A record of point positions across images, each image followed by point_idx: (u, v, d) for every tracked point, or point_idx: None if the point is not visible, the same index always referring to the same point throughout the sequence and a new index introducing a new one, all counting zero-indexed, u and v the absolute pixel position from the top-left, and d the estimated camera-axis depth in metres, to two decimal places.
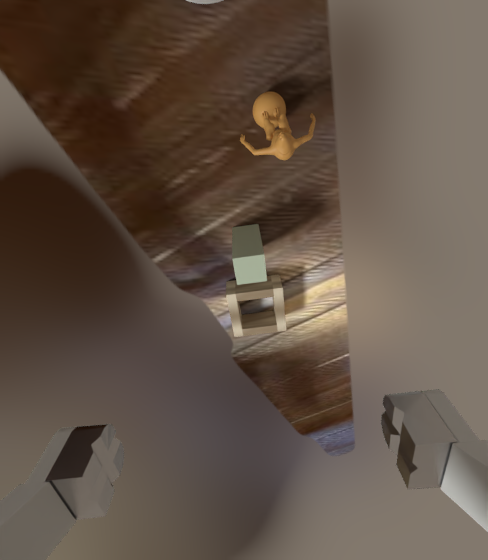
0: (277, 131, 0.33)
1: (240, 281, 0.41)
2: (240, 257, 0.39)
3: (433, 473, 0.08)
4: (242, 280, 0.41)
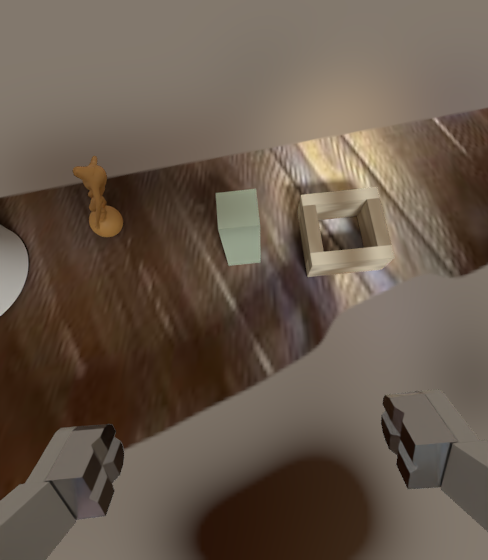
0: None
1: (254, 220, 0.30)
2: (217, 219, 0.30)
3: (433, 473, 0.08)
4: (252, 218, 0.30)
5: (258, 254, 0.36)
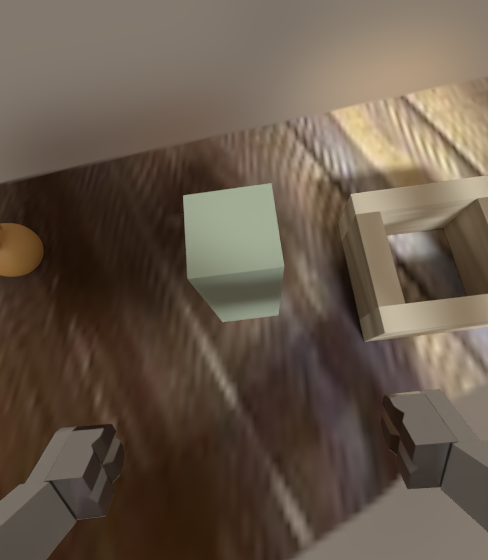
0: None
1: (270, 256, 0.13)
2: (186, 255, 0.13)
3: (433, 473, 0.08)
4: (266, 251, 0.13)
5: (275, 307, 0.20)
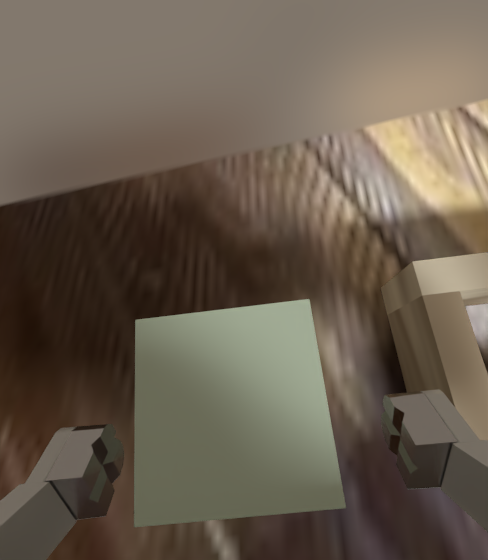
0: None
1: (315, 478, 0.06)
2: (136, 462, 0.06)
3: (433, 473, 0.08)
4: (304, 464, 0.06)
5: None
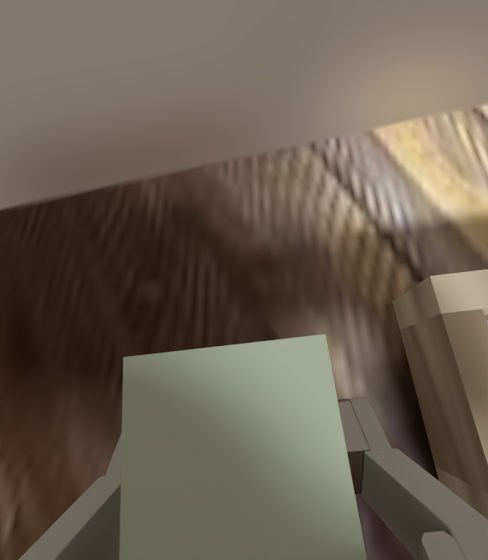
0: None
1: (335, 557, 0.05)
2: (122, 531, 0.05)
3: None
4: (322, 538, 0.05)
5: None
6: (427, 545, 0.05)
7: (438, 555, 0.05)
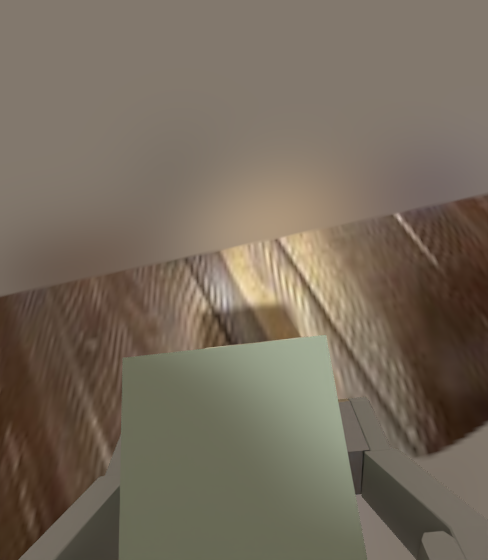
0: None
1: None
2: (121, 533, 0.05)
3: None
4: (322, 540, 0.05)
5: None
6: (427, 545, 0.05)
7: (438, 555, 0.05)
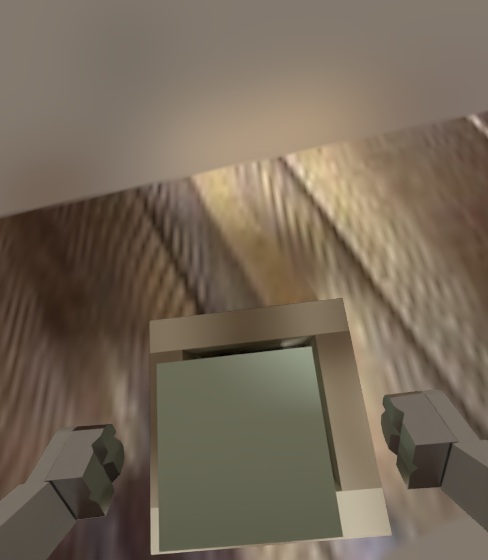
0: None
1: (316, 510, 0.07)
2: (159, 494, 0.07)
3: (433, 473, 0.08)
4: (307, 497, 0.07)
5: None
6: None
7: None
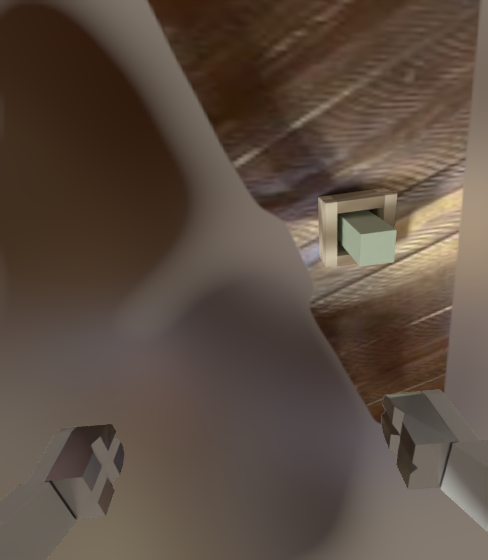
0: None
1: (364, 262, 0.37)
2: (370, 232, 0.35)
3: (433, 473, 0.08)
4: (366, 260, 0.37)
5: (341, 243, 0.43)
6: None
7: None
